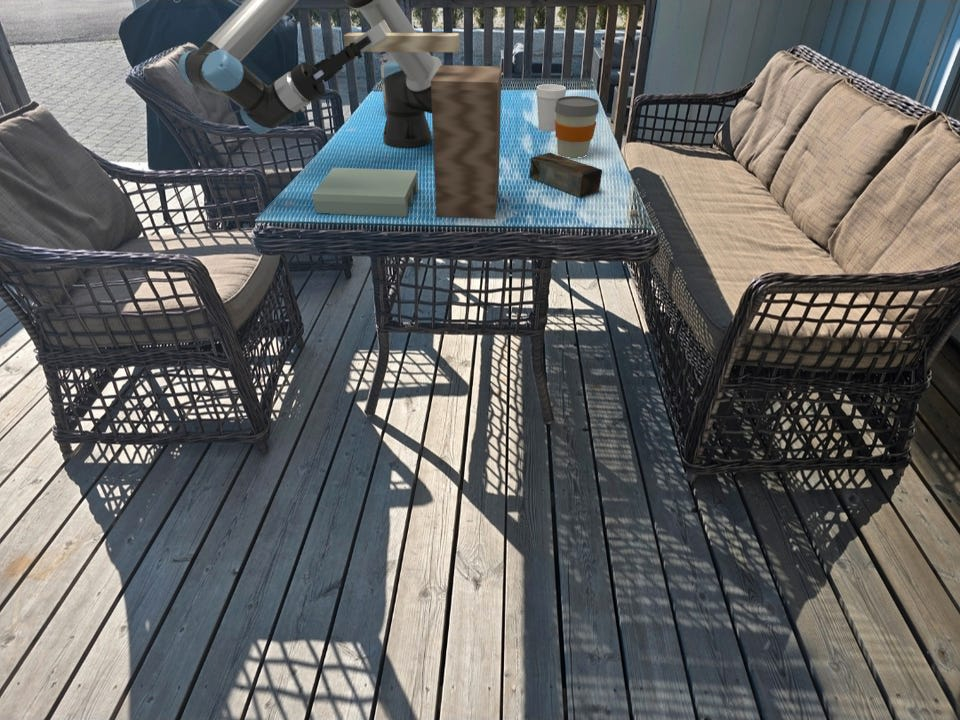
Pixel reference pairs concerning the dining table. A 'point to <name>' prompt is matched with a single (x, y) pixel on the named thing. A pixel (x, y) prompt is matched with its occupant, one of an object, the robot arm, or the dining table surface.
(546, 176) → the beverage carton
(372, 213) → the grey-green flat box
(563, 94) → the foam cup
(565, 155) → the reusable coffee cup
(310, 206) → the dining table surface
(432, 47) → the pine slat
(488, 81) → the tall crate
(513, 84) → the dining table surface
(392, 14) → the robot arm
